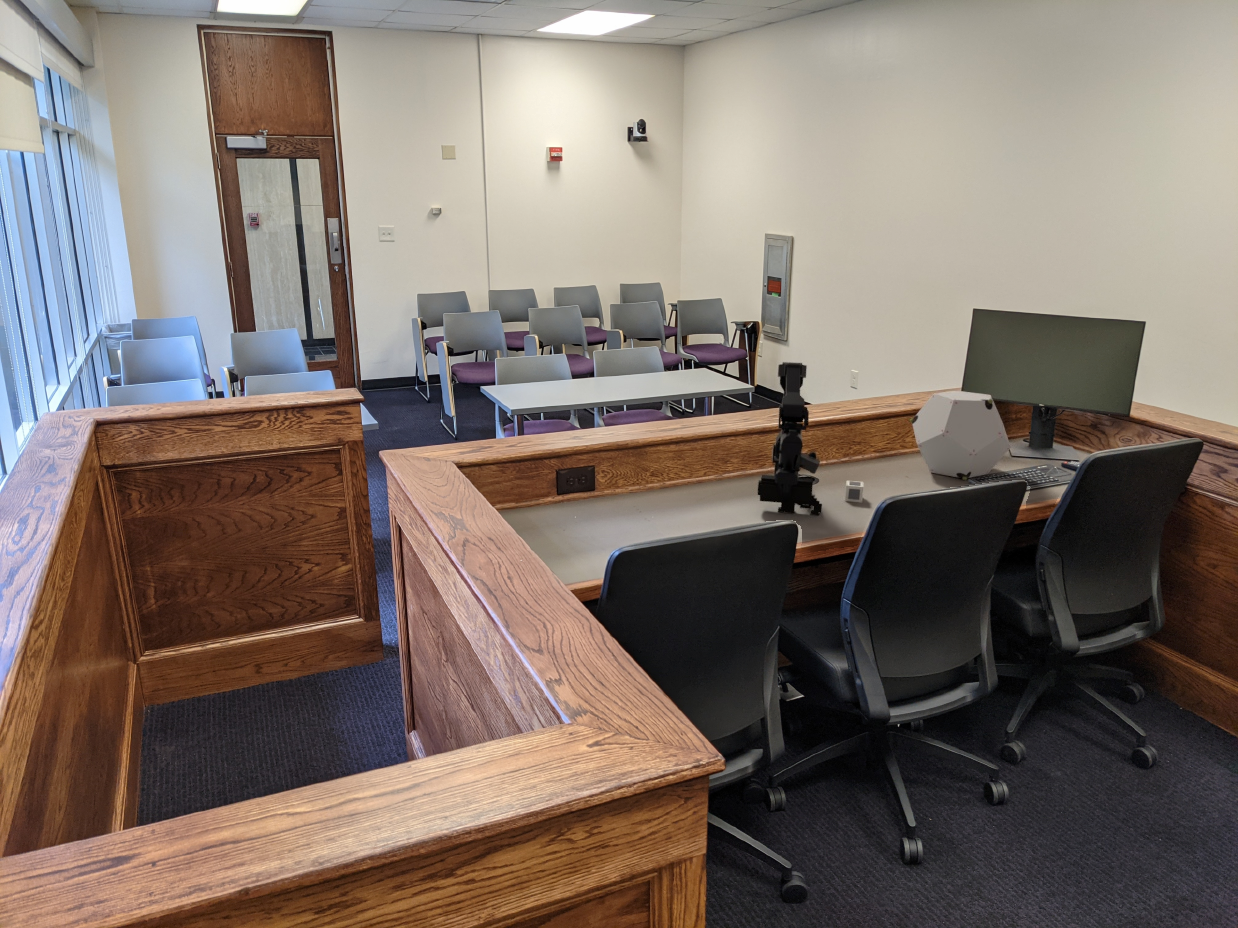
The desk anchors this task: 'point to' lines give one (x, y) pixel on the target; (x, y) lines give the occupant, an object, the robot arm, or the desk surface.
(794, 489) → the security camera
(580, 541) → the desk surface
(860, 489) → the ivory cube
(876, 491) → the desk surface
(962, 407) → the geometric sculpture
